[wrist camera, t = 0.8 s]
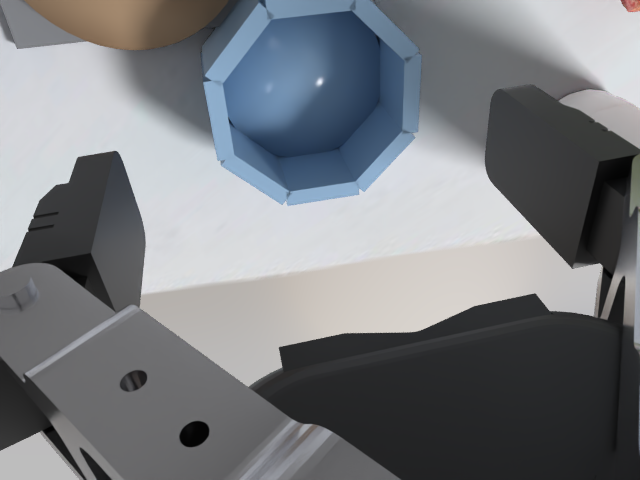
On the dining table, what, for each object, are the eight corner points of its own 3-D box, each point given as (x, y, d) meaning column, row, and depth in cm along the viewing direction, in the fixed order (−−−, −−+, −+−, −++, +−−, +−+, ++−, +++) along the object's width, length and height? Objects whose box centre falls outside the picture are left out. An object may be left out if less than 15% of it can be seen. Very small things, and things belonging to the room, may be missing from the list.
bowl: (188, -15, 28) (189, 7, 24) (392, -35, 30) (425, -18, 26) (222, 174, 35) (227, 215, 30) (389, 149, 36) (415, 185, 32)
